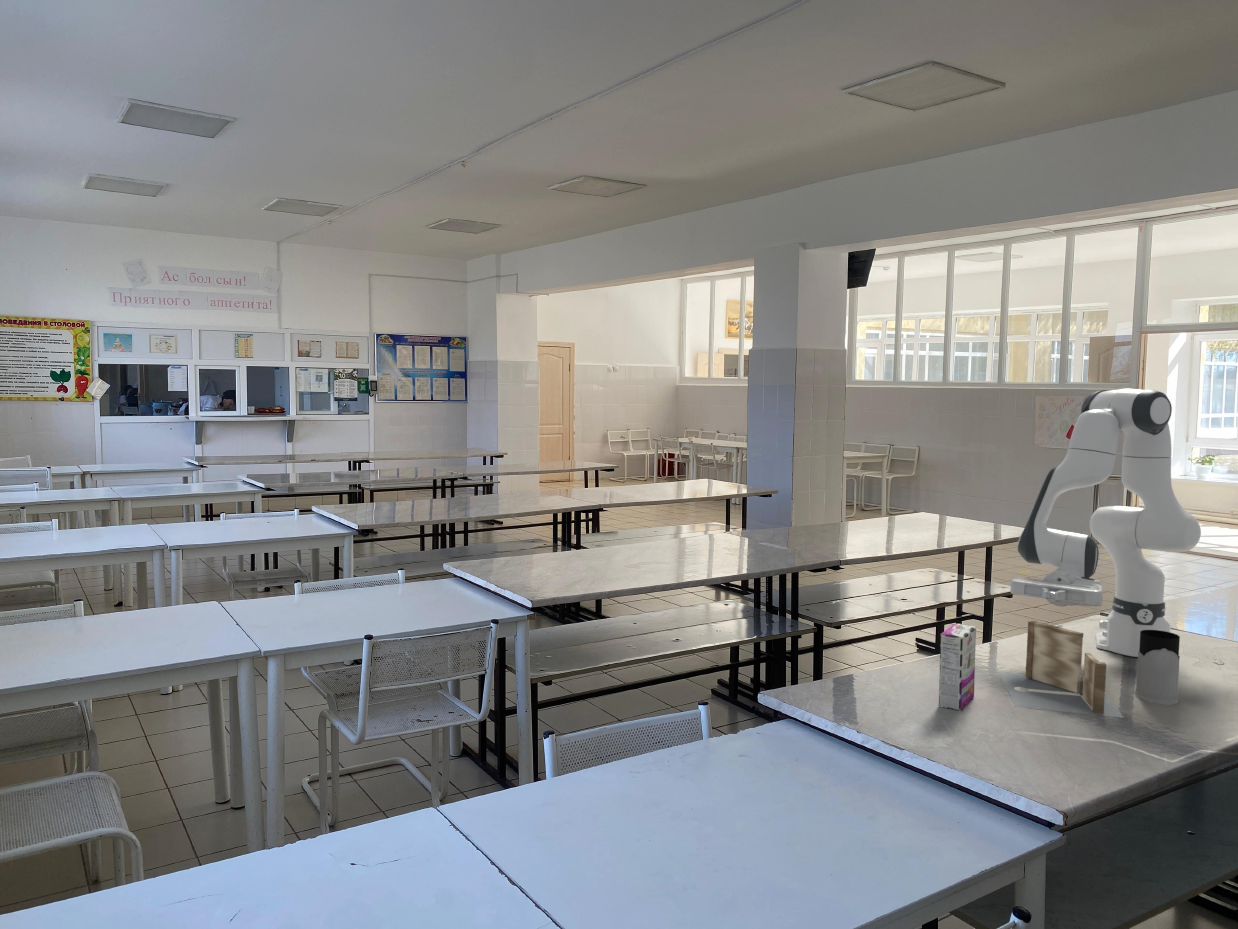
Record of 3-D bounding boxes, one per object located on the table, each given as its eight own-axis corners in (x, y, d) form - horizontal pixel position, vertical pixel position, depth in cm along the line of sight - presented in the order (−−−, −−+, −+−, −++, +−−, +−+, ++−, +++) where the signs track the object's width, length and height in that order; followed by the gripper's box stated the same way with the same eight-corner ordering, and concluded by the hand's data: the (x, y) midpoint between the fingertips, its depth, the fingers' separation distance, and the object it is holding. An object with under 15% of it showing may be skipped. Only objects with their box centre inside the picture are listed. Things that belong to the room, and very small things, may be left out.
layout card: (999, 673, 207) (999, 671, 207) (1095, 682, 201) (1095, 680, 201) (1015, 708, 183) (1015, 706, 183) (1124, 720, 177) (1124, 717, 177)
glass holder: (1138, 703, 187) (1142, 637, 186) (1123, 683, 201) (1126, 621, 200) (1184, 708, 185) (1188, 641, 183) (1165, 688, 198) (1169, 625, 197)
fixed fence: (1078, 693, 192) (1080, 647, 191) (1086, 694, 192) (1089, 647, 191) (1094, 713, 180) (1096, 663, 179) (1103, 714, 179) (1106, 664, 179)
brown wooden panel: (1080, 691, 193) (1083, 633, 192) (1076, 693, 192) (1079, 634, 191) (1030, 676, 203) (1032, 620, 202) (1025, 677, 202) (1028, 621, 201)
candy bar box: (951, 693, 193) (954, 622, 192) (974, 697, 190) (977, 626, 189) (936, 706, 184) (939, 632, 183) (960, 711, 181) (963, 636, 180)
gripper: (1017, 570, 219) (1004, 576, 208) (1107, 581, 206) (1099, 589, 195) (1015, 594, 219) (1003, 602, 208) (1105, 607, 207) (1097, 616, 196)
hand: (1050, 595), depth 202 cm, fingers closed
